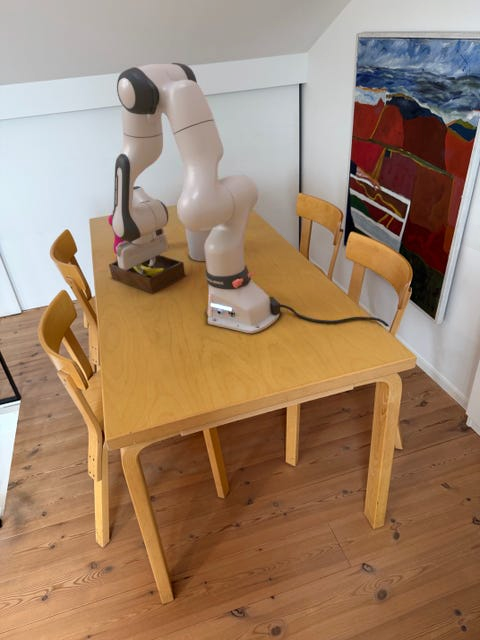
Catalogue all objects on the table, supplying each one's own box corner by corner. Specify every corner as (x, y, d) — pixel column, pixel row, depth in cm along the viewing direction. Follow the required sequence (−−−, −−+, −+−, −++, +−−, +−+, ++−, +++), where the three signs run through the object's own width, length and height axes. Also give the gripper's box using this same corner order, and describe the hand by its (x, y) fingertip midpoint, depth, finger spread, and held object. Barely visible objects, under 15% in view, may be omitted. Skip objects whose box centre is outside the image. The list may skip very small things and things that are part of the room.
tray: (185, 276, 162) (183, 261, 159) (152, 293, 153) (149, 279, 150) (144, 262, 175) (142, 249, 172) (112, 278, 166) (108, 264, 163)
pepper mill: (125, 264, 176) (114, 213, 165) (112, 261, 179) (100, 211, 169) (138, 257, 181) (128, 207, 170) (125, 254, 184) (114, 205, 174)
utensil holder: (229, 246, 183) (225, 203, 173) (223, 261, 170) (219, 216, 161) (193, 247, 185) (187, 205, 176) (185, 262, 172) (178, 218, 163)
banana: (163, 283, 157) (160, 266, 154) (128, 271, 168) (124, 256, 165) (169, 280, 159) (166, 263, 156) (134, 268, 170) (130, 253, 167)
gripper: (120, 247, 147) (129, 285, 154) (167, 226, 160) (173, 262, 167) (109, 243, 151) (118, 280, 158) (155, 224, 164) (162, 259, 171)
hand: (147, 271), depth 163 cm, fingers closed on banana, 3 cm apart
